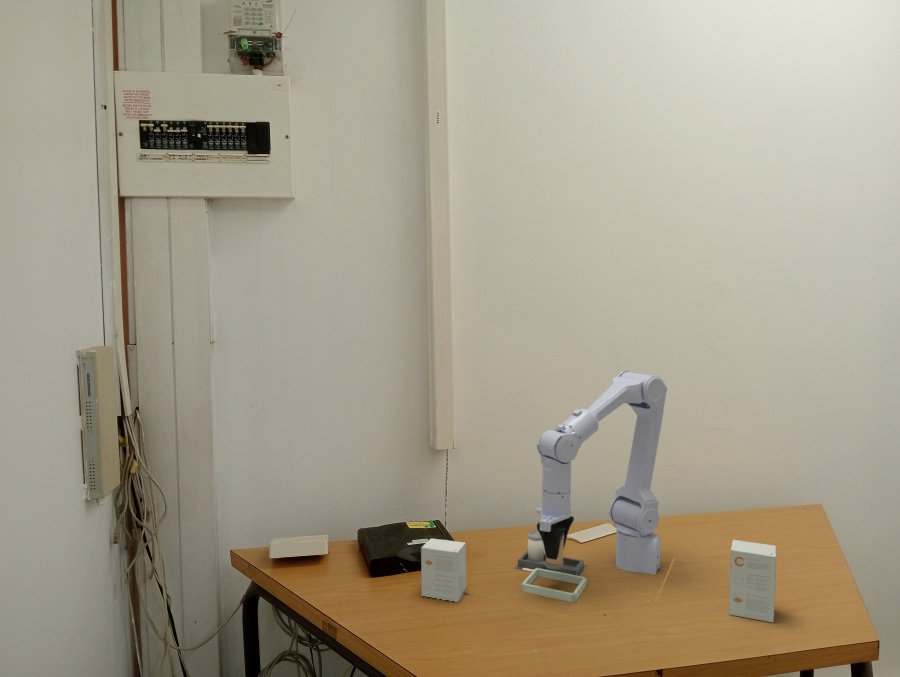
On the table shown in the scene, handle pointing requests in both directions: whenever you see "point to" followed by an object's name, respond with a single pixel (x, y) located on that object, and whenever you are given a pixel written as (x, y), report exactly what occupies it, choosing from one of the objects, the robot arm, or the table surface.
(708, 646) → the table surface
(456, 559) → the small box
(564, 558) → the tray
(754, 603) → the small box
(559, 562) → the cylinder
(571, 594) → the tray
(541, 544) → the cylinder
